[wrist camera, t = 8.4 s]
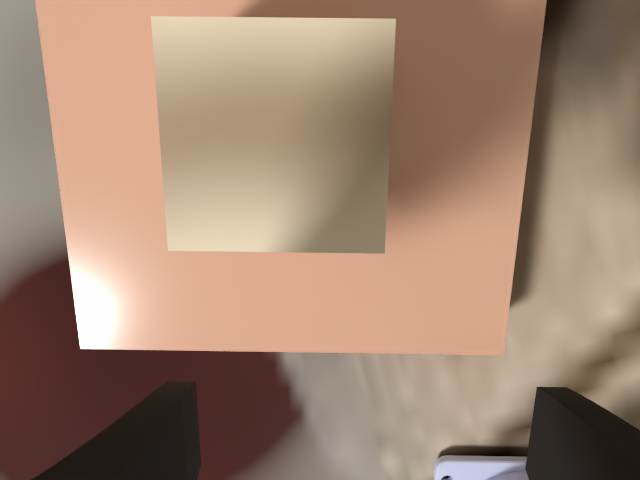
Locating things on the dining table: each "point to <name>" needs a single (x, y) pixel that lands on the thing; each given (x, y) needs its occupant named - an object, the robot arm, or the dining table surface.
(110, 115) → the terracotta base
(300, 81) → the birch block
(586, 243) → the dining table surface
